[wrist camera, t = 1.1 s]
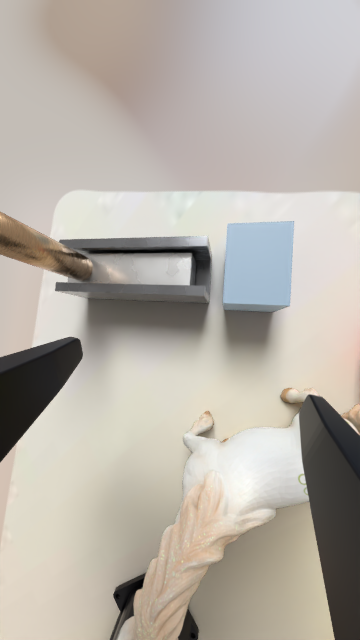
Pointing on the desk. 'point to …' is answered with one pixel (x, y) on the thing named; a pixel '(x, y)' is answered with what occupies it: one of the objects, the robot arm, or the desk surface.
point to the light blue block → (258, 266)
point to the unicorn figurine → (219, 512)
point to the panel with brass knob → (93, 260)
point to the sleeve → (145, 291)
